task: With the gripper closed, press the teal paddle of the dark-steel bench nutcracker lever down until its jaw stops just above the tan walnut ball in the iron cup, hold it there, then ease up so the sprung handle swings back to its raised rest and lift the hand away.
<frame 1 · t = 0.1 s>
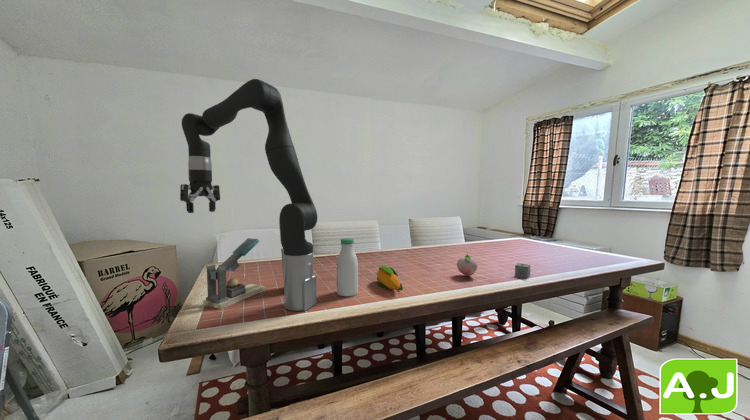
hand: (201, 212, 107), 29 cm above the table, fingers open, 8 cm apart
lever: (235, 257, 98), point 14 cm above the table, hinge at 0.0°
grey cube: (522, 276, 124), on the table
milk bottle: (347, 293, 103), on the table
corn: (390, 288, 109), on the table
cracker base: (236, 297, 99), on the table
decorative fruit: (466, 277, 123), on the table
skincare box: (293, 289, 107), on the table
nut: (232, 288, 97), point 3 cm above the table, touching cracker base
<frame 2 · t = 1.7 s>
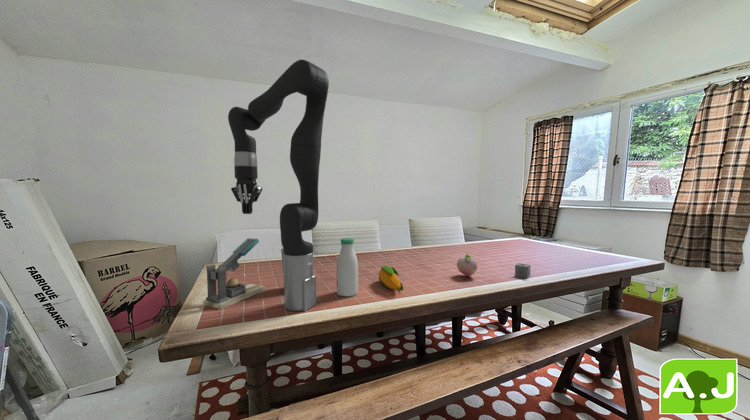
hand: (247, 213, 102), 29 cm above the table, fingers closed
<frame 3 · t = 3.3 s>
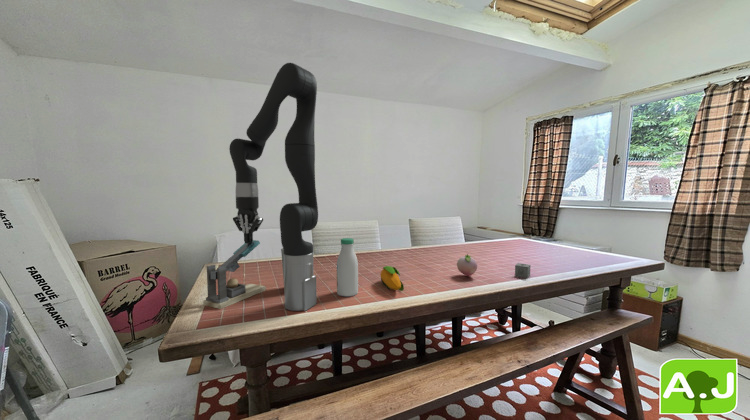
hand: (248, 243, 103), 18 cm above the table, fingers closed
lever: (235, 258, 98), point 14 cm above the table, hinge at 2.4°, touching gripper
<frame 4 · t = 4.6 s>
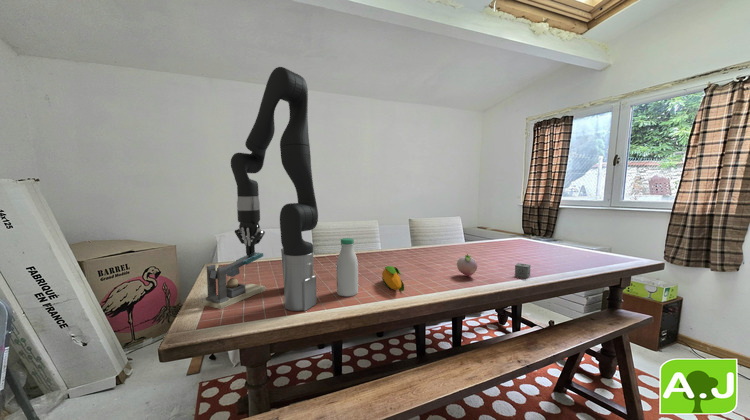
hand: (250, 255, 104), 13 cm above the table, fingers closed
lever: (237, 264, 99), point 11 cm above the table, hinge at 19.8°, touching gripper
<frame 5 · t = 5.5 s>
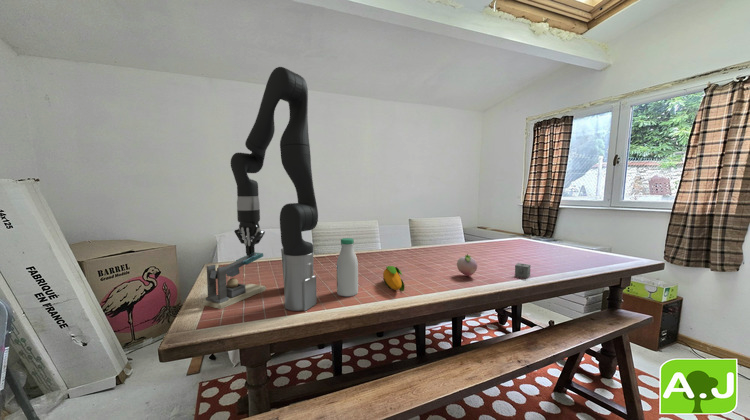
hand: (250, 255, 104), 13 cm above the table, fingers closed
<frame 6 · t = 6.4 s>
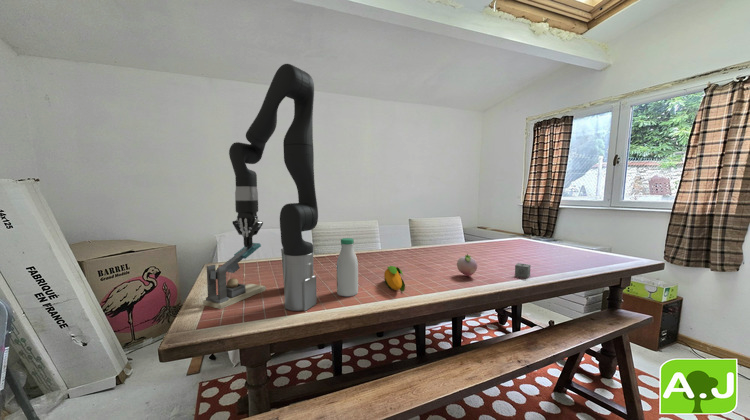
hand: (248, 246, 103), 17 cm above the table, fingers closed
lever: (236, 259, 98), point 13 cm above the table, hinge at 6.4°, touching gripper
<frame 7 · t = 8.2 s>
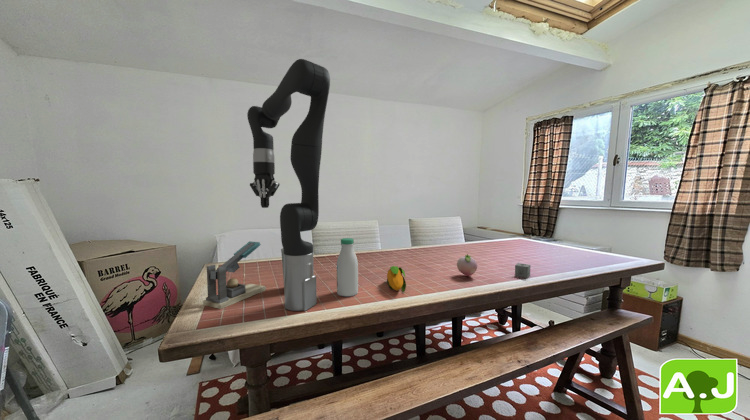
hand: (264, 207, 107), 31 cm above the table, fingers closed
lever: (236, 258, 98), point 14 cm above the table, hinge at 4.7°
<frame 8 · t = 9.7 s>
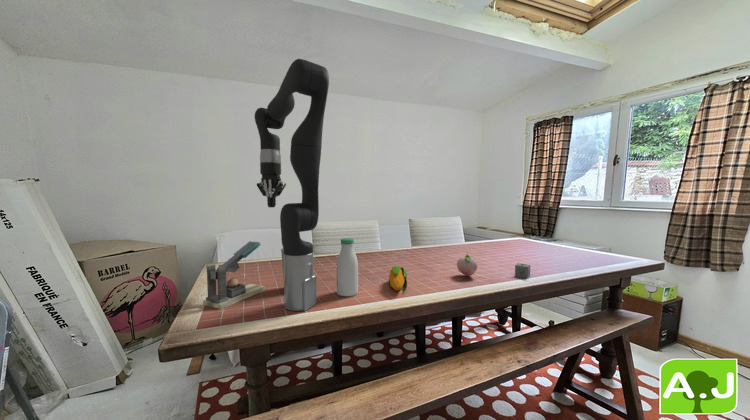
hand: (271, 207, 109), 31 cm above the table, fingers closed
at the end: lever at +5° (first picture: +0°); nut 0.0 cm from the target spot on the cracker base, point 3.5 cm above the cracker base's base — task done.
